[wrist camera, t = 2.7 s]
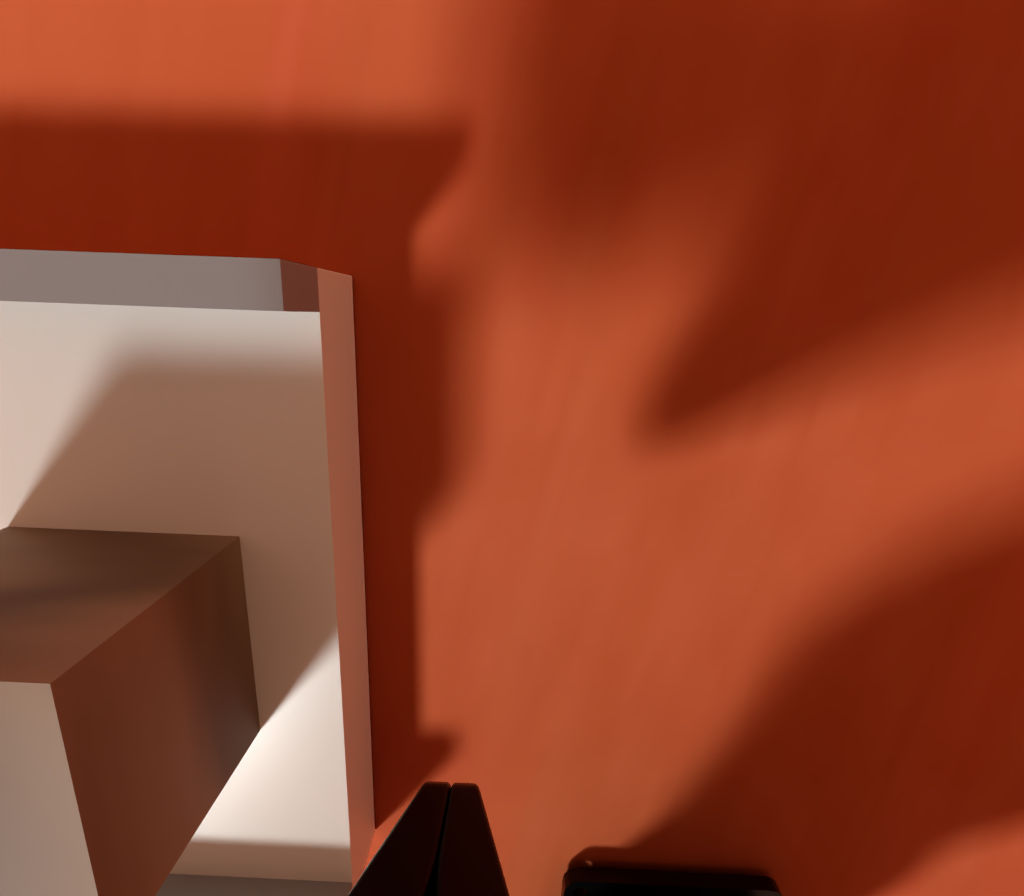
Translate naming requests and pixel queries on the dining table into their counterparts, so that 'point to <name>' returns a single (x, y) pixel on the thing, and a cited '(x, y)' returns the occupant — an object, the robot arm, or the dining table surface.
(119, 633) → the walnut block
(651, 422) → the dining table surface
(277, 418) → the box
